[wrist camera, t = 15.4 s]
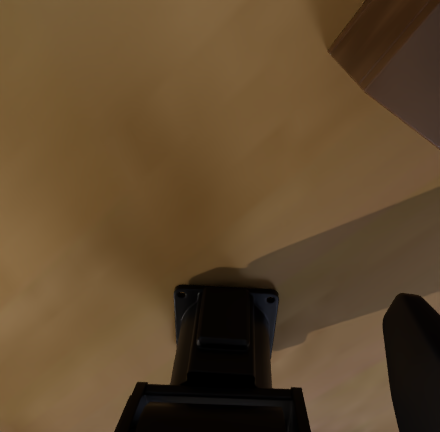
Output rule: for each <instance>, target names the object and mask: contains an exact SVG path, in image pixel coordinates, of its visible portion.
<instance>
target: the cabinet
mask: <svg viewBox="0 0 440 432" xmlns="http://www.w3.org/2000/svg"><path fill="white" fill-rule="evenodd" d="M328 53H329V54H330V55H331V56H332V57H333V58H334V59H335V60H336V61H337V62H338V63H339V64H340V66H341V67H342V68H343V69H344V70H345V71H346V72H347V73H348V74H349V75H350V77H351V78H352V79H353V80H354V81H355V82H356V83H357V84H358V85H359V86H360V88H361V89H362V90H363V91H364V92H365V93H366V94H368V95H369V96H370V97H372V98H373V99H374V100H376V101H377V102H378V103H379V104H381V105H382V106H383V107H385V108H386V109H387V110H389V111H390V112H391V113H393V114H394V115H395V116H396V117H398V118H399V119H400V120H402V121H403V122H404V123H406V124H407V125H408V126H410V127H411V128H412V129H413V130H415V131H416V132H417V133H419V134H420V135H421V136H423V137H424V138H425V139H427V140H428V141H429V142H431V143H432V144H433V145H434V146H436V147H437V148H438V149H440V0H366V1H365V2H364V3H363V5H362V6H361V7H360V9H359V10H358V11H357V13H356V14H355V15H354V17H353V18H352V19H351V21H350V22H349V23H348V24H347V26H346V27H345V28H344V30H343V31H342V32H341V34H340V35H339V36H338V38H337V39H336V40H335V41H334V43H333V44H332V45H331V47H330V48H329V49H328Z"/></svg>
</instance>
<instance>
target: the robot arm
mask: <svg viewBox="0 0 440 432" xmlns="http://www.w3.org/2000/svg"><path fill="white" fill-rule="evenodd" d="M180 292H184V293H180ZM268 297H273V298H268ZM278 303H279V297H278V293H277V291H275V290H271V289H254V288H237V287H219V286H201V285H183V284H182V285H178V286H176V287H175V291H174V308H175V326H176V344H177V350H176V355H175V361H174V366H173V372H172V377H171V383H170V385H159V384H148V382H137V384H136V386H135V388H134V391H133V393H132V395H130V397H129V399H128V401H127V403H126V406H125V408H124V410H123V413H122V415H121V417H120V420H119V422H118V424H117V427H116V429H115V431H114V432H311V430H310V425H309V420H308V416H307V411H306V406H305V402H304V397H303V392H302V388H296V387H291V389H273V388H272V379H271V362H270V359H271V353H272V346H273V339H274V331H275V324H276V317H277V310H278ZM383 335H384V343H385V351H386V359H387V367H388V376H389V384H390V391H391V397H392V402H393V406H394V411H395V415H396V419H397V424H398V428H399V432H440V315H439V314H438V313H437V312H436V311H435V310H434V309H433V308H432V307H431V306H430V305H429V304H428V303H427V302H426V301H425V300H424V299H423V298H422V297H421V296H419V295H415V294H406V293H400V294H398V295H397V296H396V297H395V299H394V300H393V302H392V304H391V305H390V307H389V309H388V310H387V312H386V314H385V315H384V318H383Z"/></svg>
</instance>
